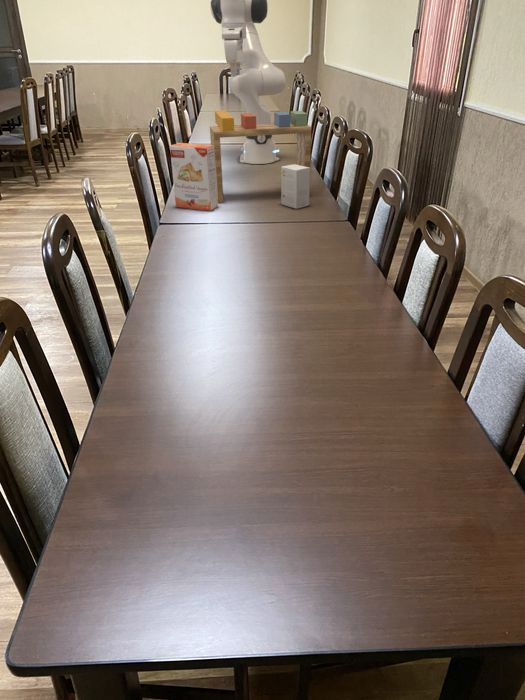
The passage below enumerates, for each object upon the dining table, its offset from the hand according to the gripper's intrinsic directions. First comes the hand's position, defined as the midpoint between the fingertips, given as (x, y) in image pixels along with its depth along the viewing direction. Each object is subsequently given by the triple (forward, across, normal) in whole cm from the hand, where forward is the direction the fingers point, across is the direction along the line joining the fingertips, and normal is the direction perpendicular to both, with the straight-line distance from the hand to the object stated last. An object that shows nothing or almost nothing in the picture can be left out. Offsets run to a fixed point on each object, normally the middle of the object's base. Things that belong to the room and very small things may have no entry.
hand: (235, 76), depth 201 cm
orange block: (+15, +22, -2) cm, 26 cm away
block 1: (+15, +24, +7) cm, 29 cm away
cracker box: (+39, +39, -10) cm, 56 cm away
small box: (+39, +35, +24) cm, 58 cm away
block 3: (+15, +18, +24) cm, 34 cm away
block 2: (+15, +20, +19) cm, 31 cm away
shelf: (+39, +22, +11) cm, 46 cm away
